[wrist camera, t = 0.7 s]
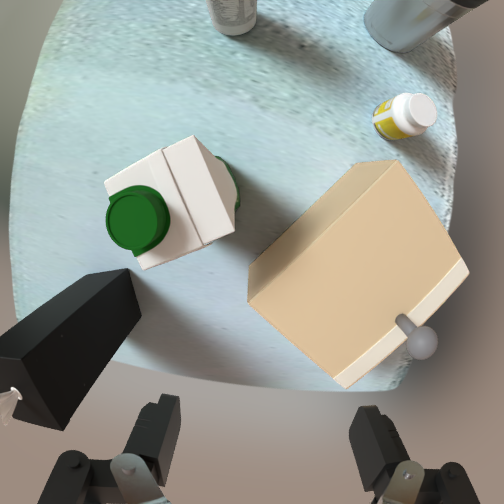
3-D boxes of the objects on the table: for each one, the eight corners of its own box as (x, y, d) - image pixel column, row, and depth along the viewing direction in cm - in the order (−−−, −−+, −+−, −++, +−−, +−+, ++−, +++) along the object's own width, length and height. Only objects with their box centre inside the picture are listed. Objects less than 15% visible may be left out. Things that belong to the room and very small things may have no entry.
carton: (356, 163, 37) (396, 159, 25) (420, 246, 40) (467, 271, 28) (248, 265, 40) (247, 302, 29) (323, 337, 43) (343, 386, 31)
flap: (395, 160, 25) (437, 158, 18) (466, 272, 28) (505, 294, 21) (248, 301, 28) (247, 341, 21) (345, 386, 31) (361, 429, 24)
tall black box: (128, 267, 40) (-2, 381, 13) (143, 316, 42) (48, 455, 15) (86, 274, 41) (-43, 370, 14) (101, 320, 43) (-1, 437, 16)
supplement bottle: (405, 142, 36) (443, 136, 26) (371, 139, 36) (405, 130, 26) (402, 106, 35) (439, 91, 25) (369, 101, 35) (400, 83, 25)
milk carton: (161, 175, 37) (80, 179, 18) (224, 146, 36) (193, 116, 17) (187, 235, 39) (130, 290, 20) (250, 209, 38) (248, 242, 19)
